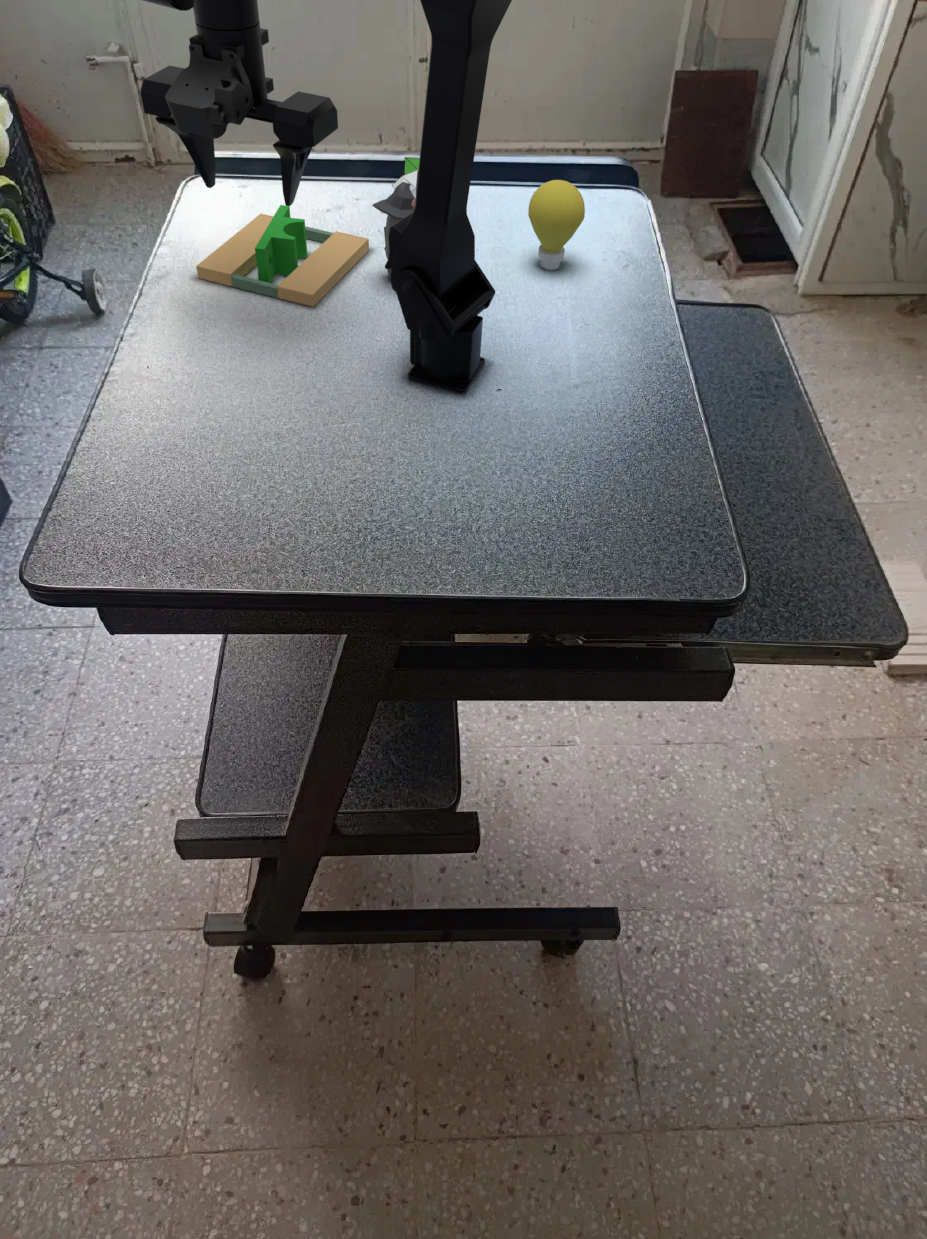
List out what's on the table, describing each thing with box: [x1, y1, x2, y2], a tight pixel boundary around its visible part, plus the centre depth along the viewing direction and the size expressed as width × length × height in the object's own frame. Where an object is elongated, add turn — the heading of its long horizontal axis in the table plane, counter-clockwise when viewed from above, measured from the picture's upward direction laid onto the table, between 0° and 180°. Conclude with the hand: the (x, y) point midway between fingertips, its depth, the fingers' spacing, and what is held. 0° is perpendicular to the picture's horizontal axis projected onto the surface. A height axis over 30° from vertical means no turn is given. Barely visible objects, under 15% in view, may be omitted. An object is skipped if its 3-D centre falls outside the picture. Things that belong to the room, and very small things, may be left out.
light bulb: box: [527, 179, 586, 271], centre depth 107 cm, size 7×7×10 cm
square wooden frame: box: [195, 213, 370, 308], centre depth 108 cm, size 15×15×2 cm
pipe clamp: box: [255, 204, 309, 283], centre depth 106 cm, size 11×4×5 cm, turn 173°
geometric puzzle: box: [391, 155, 420, 198], centre depth 116 cm, size 7×7×8 cm
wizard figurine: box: [372, 182, 416, 283], centre depth 102 cm, size 8×6×12 cm
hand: (250, 195), depth 93 cm, fingers open, 9 cm apart
